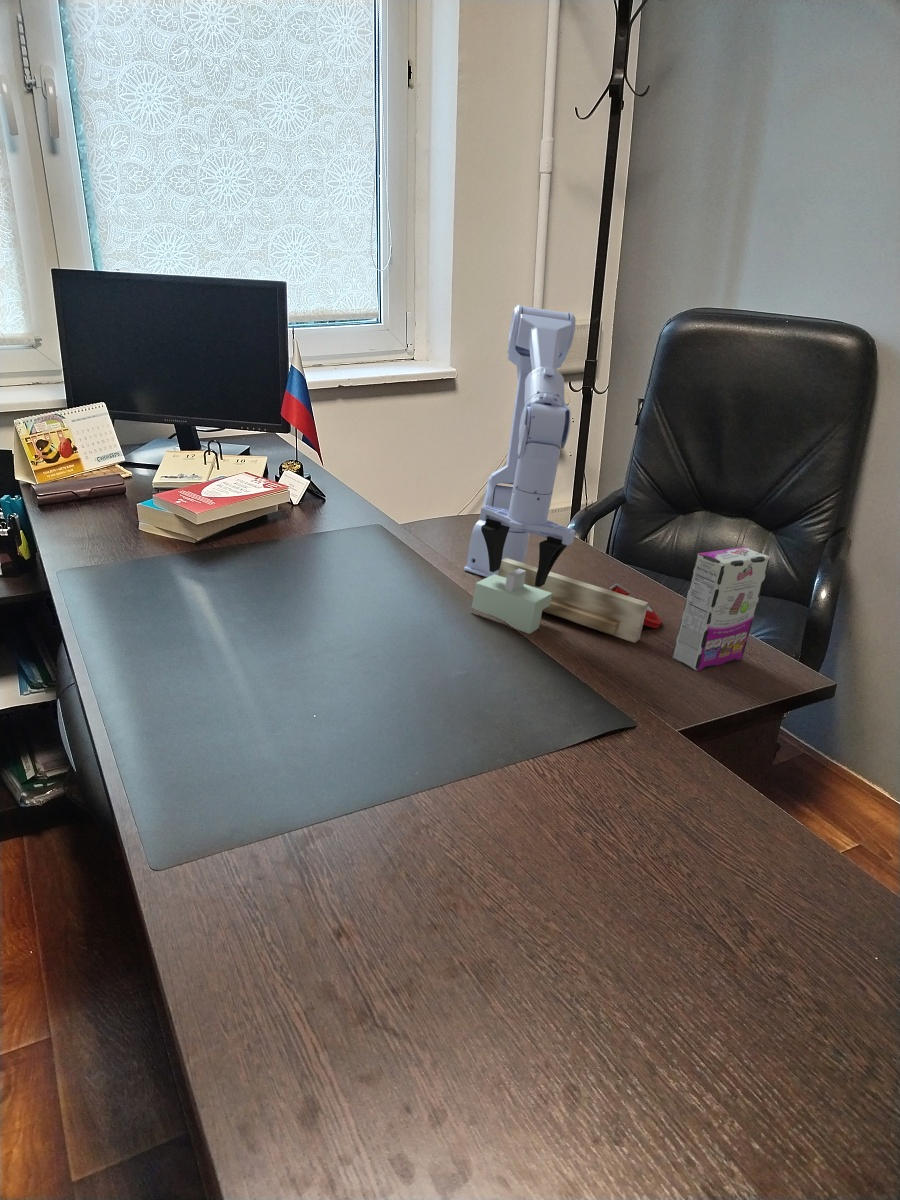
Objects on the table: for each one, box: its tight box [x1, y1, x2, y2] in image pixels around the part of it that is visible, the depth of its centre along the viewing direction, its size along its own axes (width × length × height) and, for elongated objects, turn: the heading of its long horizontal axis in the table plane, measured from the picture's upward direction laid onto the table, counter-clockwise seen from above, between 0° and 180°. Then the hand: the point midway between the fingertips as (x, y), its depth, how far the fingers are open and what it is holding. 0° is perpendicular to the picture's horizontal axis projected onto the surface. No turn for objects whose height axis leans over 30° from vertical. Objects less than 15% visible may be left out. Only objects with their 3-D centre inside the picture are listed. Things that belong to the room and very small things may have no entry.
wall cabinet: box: [471, 569, 552, 635], centre depth 125 cm, size 10×6×8 cm, turn 59°
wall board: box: [498, 558, 649, 644], centre depth 129 cm, size 24×4×6 cm, turn 59°
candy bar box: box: [671, 546, 772, 672], centre depth 120 cm, size 11×5×16 cm, turn 126°
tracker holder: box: [609, 582, 662, 629], centre depth 134 cm, size 12×4×10 cm
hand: (516, 577), depth 124 cm, fingers open, 7 cm apart
